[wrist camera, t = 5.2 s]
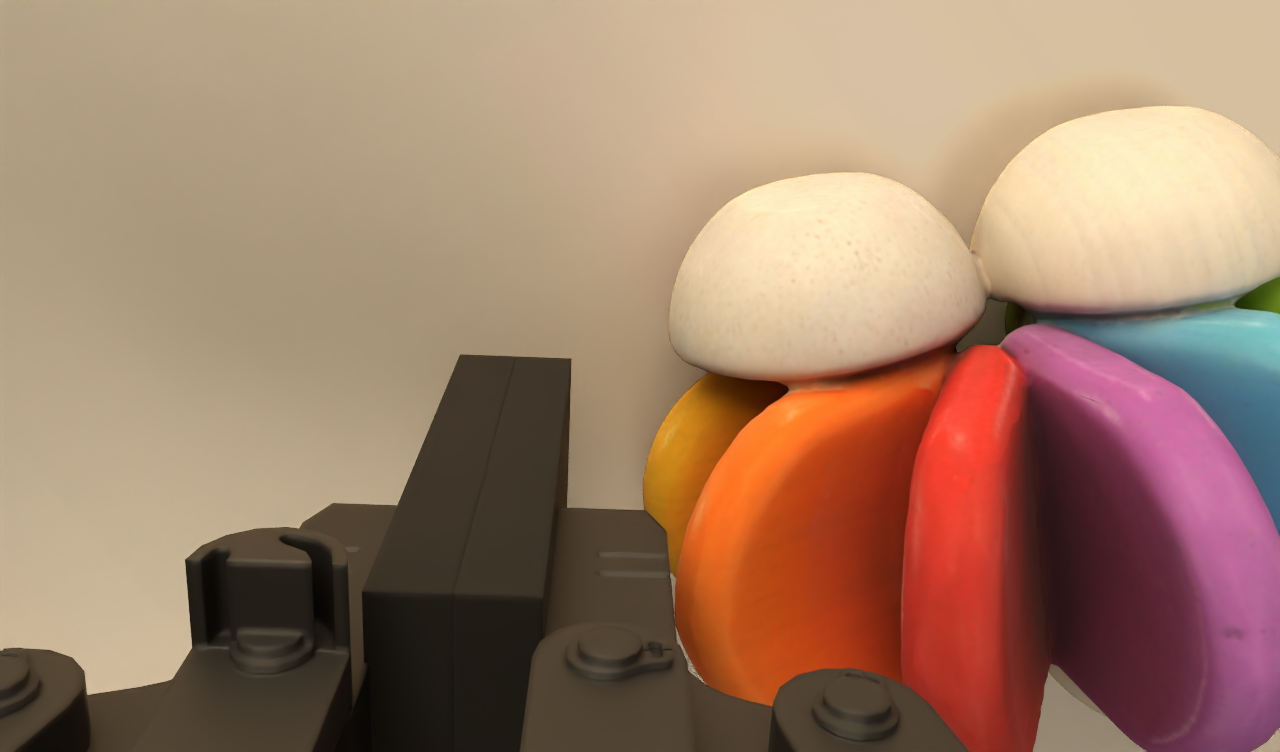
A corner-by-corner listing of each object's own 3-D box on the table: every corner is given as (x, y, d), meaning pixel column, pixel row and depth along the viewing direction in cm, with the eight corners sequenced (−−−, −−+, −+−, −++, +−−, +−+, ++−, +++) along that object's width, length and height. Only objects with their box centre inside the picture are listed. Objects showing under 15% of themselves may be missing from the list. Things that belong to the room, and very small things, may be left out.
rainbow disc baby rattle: (584, 201, 17) (573, 359, 10) (1267, 61, 17) (1739, 124, 10) (693, 703, 20) (742, 1098, 13) (1282, 592, 19) (1658, 935, 12)
